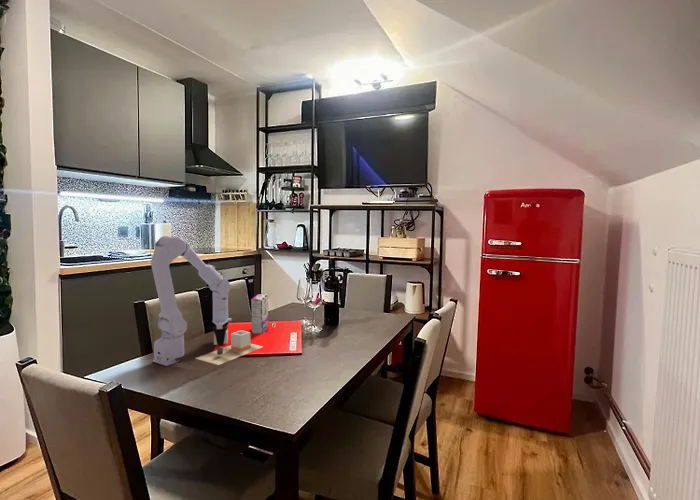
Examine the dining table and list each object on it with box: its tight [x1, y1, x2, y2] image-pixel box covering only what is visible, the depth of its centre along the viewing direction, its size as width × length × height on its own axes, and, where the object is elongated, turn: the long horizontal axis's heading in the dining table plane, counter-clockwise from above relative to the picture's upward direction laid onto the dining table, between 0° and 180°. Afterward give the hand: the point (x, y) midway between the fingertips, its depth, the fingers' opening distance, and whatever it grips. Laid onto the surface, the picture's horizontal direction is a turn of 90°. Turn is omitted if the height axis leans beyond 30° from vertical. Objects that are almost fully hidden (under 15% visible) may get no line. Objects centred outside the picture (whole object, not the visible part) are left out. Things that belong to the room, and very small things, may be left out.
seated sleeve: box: [230, 330, 252, 351], centre depth 145 cm, size 5×5×6 cm
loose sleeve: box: [213, 328, 229, 346], centre depth 152 cm, size 5×5×6 cm
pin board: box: [194, 343, 264, 366], centre depth 141 cm, size 22×12×5 cm, turn 150°
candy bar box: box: [250, 293, 269, 334], centre depth 170 cm, size 11×5×16 cm, turn 179°
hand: (221, 341), depth 152 cm, fingers closed on loose sleeve, 5 cm apart
